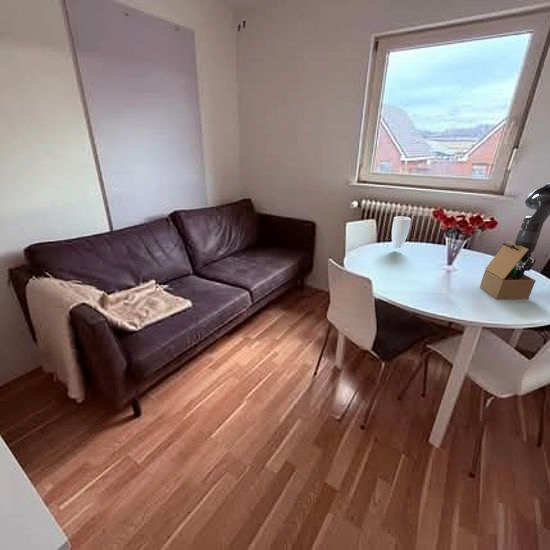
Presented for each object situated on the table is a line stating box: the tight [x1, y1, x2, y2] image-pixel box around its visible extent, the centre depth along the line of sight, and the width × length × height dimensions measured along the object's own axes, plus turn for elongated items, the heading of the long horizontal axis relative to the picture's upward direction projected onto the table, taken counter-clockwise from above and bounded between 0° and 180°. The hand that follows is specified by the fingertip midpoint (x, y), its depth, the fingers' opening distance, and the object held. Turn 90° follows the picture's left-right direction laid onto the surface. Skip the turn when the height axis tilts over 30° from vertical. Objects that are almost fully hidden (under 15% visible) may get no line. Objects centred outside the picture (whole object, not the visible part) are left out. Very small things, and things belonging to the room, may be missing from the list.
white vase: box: [391, 215, 412, 249], centre depth 193 cm, size 10×10×22 cm
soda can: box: [505, 263, 523, 280], centre depth 143 cm, size 5×5×12 cm
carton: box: [479, 269, 537, 300], centre depth 144 cm, size 15×12×10 cm
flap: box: [484, 239, 529, 280], centre depth 139 cm, size 16×12×5 cm
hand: (513, 274), depth 142 cm, fingers closed on soda can, 5 cm apart
